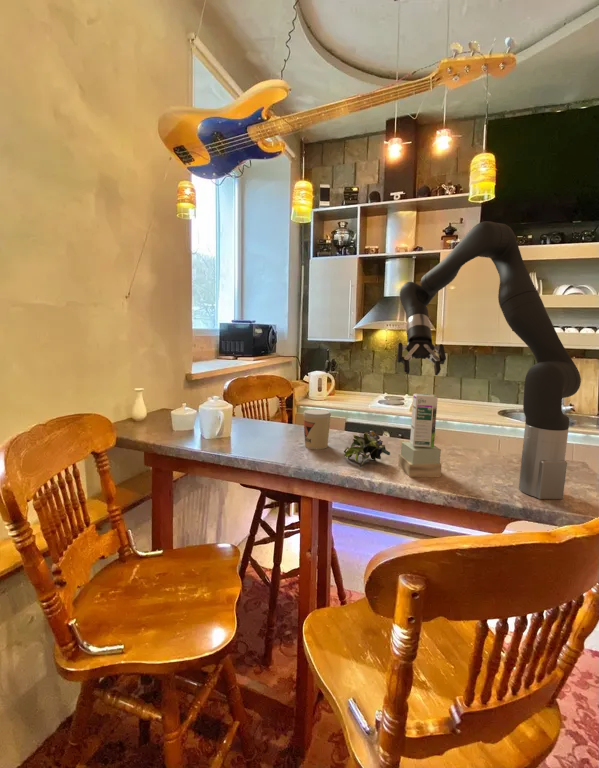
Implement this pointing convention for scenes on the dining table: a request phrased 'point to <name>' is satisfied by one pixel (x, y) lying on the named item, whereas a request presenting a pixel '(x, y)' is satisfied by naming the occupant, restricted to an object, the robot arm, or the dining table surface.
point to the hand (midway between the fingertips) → (422, 373)
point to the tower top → (420, 454)
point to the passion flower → (366, 447)
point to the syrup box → (423, 420)
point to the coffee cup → (316, 428)
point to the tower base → (419, 468)
